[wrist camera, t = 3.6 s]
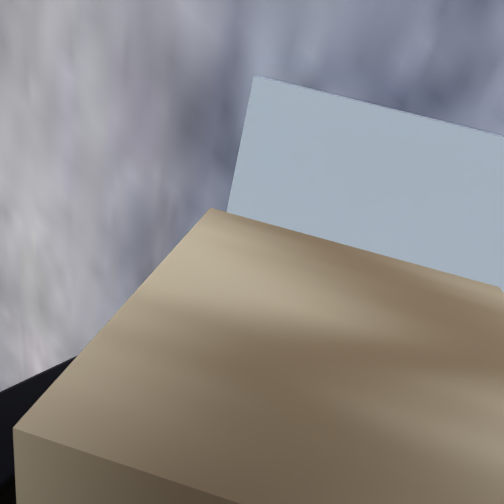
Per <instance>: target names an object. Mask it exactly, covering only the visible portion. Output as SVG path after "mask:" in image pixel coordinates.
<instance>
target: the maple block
mask: <svg viewBox="0 0 504 504" xmlns="http://www.w3.org/2000/svg"><path fill="white" fill-rule="evenodd" d="M13 443H14V464H15V485H16V504H504V293H503V291H502V290H501V288H500V287H497V286H494V285H490V284H486V283H483V282H479V281H475V280H472V279H468V278H465V277H461V276H457V275H454V274H450V273H446V272H443V271H439V270H435V269H432V268H428V267H424V266H421V265H417V264H414V263H410V262H406V261H403V260H399V259H395V258H392V257H388V256H384V255H381V254H377V253H373V252H370V251H366V250H363V249H359V248H355V247H352V246H348V245H344V244H341V243H337V242H333V241H330V240H326V239H322V238H319V237H315V236H312V235H308V234H304V233H301V232H297V231H293V230H290V229H286V228H282V227H279V226H275V225H272V224H268V223H264V222H261V221H257V220H253V219H250V218H246V217H242V216H239V215H235V214H231V213H228V212H224V211H221V210H217V209H213V208H210V209H209V210H208V211H207V212H206V213H205V215H204V216H203V217H202V218H201V219H200V220H199V221H198V222H197V223H196V225H195V226H194V227H193V228H192V229H191V230H190V231H189V232H188V233H187V235H186V236H185V237H184V238H183V239H182V240H181V241H180V242H179V243H178V245H177V246H176V247H175V248H174V249H173V250H172V251H171V252H170V253H169V255H168V256H167V257H166V258H165V259H164V260H163V261H162V262H161V264H160V265H159V266H158V267H157V268H156V269H155V270H154V271H153V272H152V274H151V275H150V276H149V277H148V278H147V279H146V280H145V281H144V282H143V284H142V285H141V286H140V287H139V288H138V289H137V290H136V291H135V292H134V294H133V295H132V296H131V297H130V298H129V299H128V300H127V301H126V302H125V304H124V305H123V306H122V307H121V308H120V309H119V310H118V311H117V312H116V314H115V315H114V316H113V317H112V318H111V319H110V320H109V321H108V322H107V324H106V325H105V326H104V327H103V328H102V329H101V330H100V331H99V332H98V334H97V335H96V336H95V337H94V338H93V339H92V340H91V341H90V342H89V344H88V345H87V346H86V347H85V348H84V349H83V350H82V351H81V353H80V354H79V355H78V356H77V357H76V358H75V359H74V360H73V361H72V363H71V364H70V365H69V366H68V367H67V368H66V369H65V370H64V371H63V373H62V374H61V375H60V376H59V377H58V378H57V379H56V380H55V381H54V383H53V384H52V385H51V386H50V387H49V388H48V389H47V390H46V391H45V393H44V394H43V395H42V396H41V397H40V398H39V399H38V400H37V401H36V403H35V404H34V405H33V406H32V407H31V408H30V409H29V410H28V411H27V413H26V414H25V415H24V416H23V417H22V418H21V419H20V420H19V421H18V423H17V424H16V425H15V426H14V427H13Z"/></svg>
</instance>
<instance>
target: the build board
mask: <svg viewBox="0 0 504 504" xmlns="http://www.w3.org/2000/svg"><path fill="white" fill-rule="evenodd" d="M227 212H228V213H231V214H235V215H239V216H242V217H246V218H250V219H253V220H257V221H261V222H264V223H268V224H272V225H275V226H279V227H282V228H286V229H290V230H293V231H297V232H301V233H304V234H308V235H312V236H315V237H319V238H322V239H326V240H330V241H333V242H337V243H341V244H344V245H348V246H352V247H355V248H359V249H363V250H366V251H370V252H373V253H377V254H381V255H384V256H388V257H392V258H395V259H399V260H403V261H406V262H410V263H414V264H417V265H421V266H424V267H428V268H432V269H435V270H439V271H443V272H446V273H450V274H454V275H457V276H461V277H465V278H468V279H472V280H475V281H479V282H483V283H486V284H490V285H494V286H497V287H500V288H501V290H502V291H503V293H504V136H502V135H498V134H494V133H490V132H486V131H482V130H478V129H474V128H470V127H465V126H461V125H457V124H453V123H449V122H445V121H441V120H437V119H433V118H429V117H425V116H421V115H417V114H413V113H408V112H404V111H400V110H396V109H392V108H388V107H384V106H380V105H376V104H372V103H368V102H364V101H360V100H356V99H351V98H347V97H343V96H339V95H335V94H331V93H327V92H323V91H319V90H315V89H311V88H307V87H303V86H299V85H294V84H290V83H286V82H282V81H278V80H274V79H270V78H266V77H262V76H258V75H256V76H254V77H253V82H252V87H251V92H250V97H249V102H248V107H247V113H246V118H245V123H244V128H243V133H242V138H241V143H240V148H239V153H238V158H237V163H236V168H235V173H234V178H233V183H232V188H231V193H230V198H229V203H228V208H227Z"/></svg>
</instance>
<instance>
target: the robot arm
mask: <svg viewBox="0 0 504 504" xmlns="http://www.w3.org/2000/svg"><path fill="white" fill-rule="evenodd" d="M76 357H77V356H75V357H73V358H71V359H69V360H67V361H65V362H63V363H61V364H58V365H56V366H54V367H52V368H50V369H48V370H46V371H44V372H41V373H39V374H37V375H35V376H33V377H31V378H29V379H27V380H24V381H22V382H20V383H18V384H16V385H14V386H12V387H10V388H7V389H5V390H3V391H1V392H0V504H16V485H15V464H14V443H13V427H14V426H15V425H16V424H17V423H18V421H19V420H20V419H21V418H22V417H23V416H24V415H25V414H26V413H27V411H28V410H29V409H30V408H31V407H32V406H33V405H34V404H35V403H36V401H37V400H38V399H39V398H40V397H41V396H42V395H43V394H44V393H45V391H46V390H47V389H48V388H49V387H50V386H51V385H52V384H53V383H54V381H55V380H56V379H57V378H58V377H59V376H60V375H61V374H62V373H63V371H64V370H65V369H66V368H67V367H68V366H69V365H70V364H71V363H72V361H73V360H74V359H75V358H76Z"/></svg>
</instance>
